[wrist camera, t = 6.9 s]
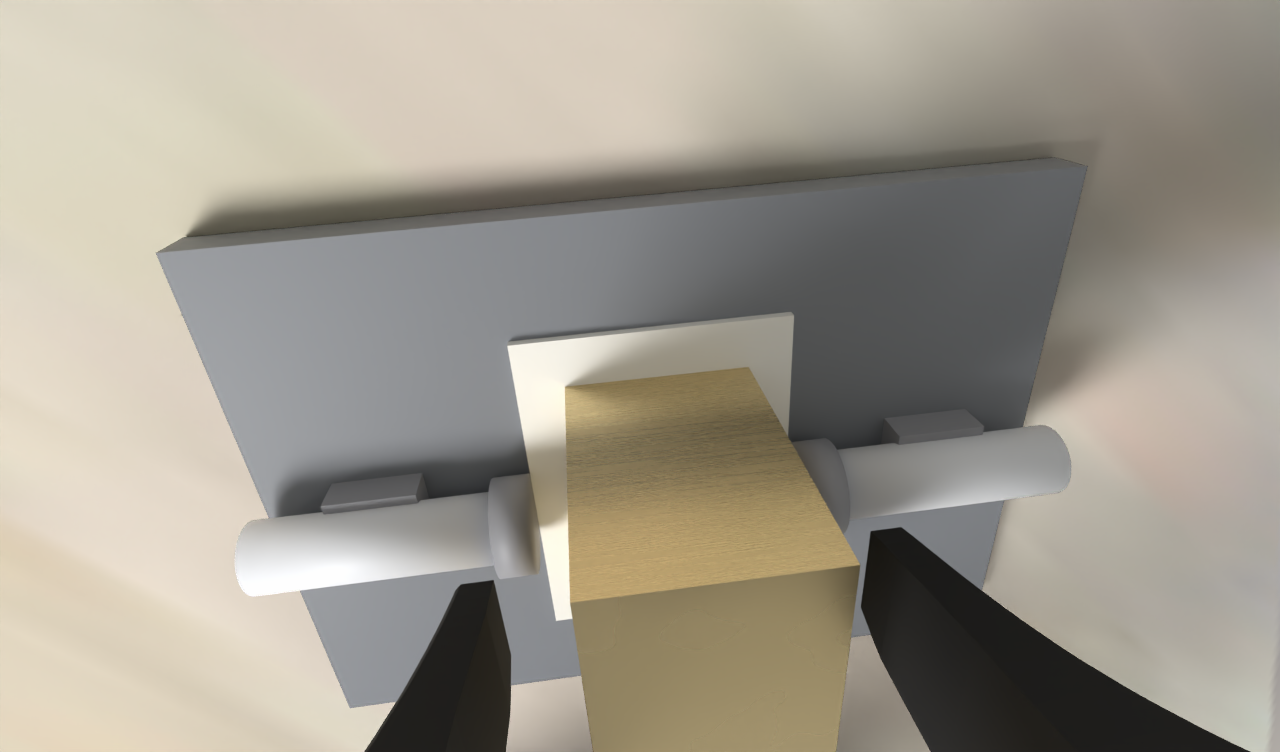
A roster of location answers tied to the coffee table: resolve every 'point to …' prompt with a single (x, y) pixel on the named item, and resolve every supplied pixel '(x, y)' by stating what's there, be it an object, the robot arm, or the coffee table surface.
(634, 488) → the wooden block
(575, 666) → the shaft rig
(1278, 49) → the coffee table surface
